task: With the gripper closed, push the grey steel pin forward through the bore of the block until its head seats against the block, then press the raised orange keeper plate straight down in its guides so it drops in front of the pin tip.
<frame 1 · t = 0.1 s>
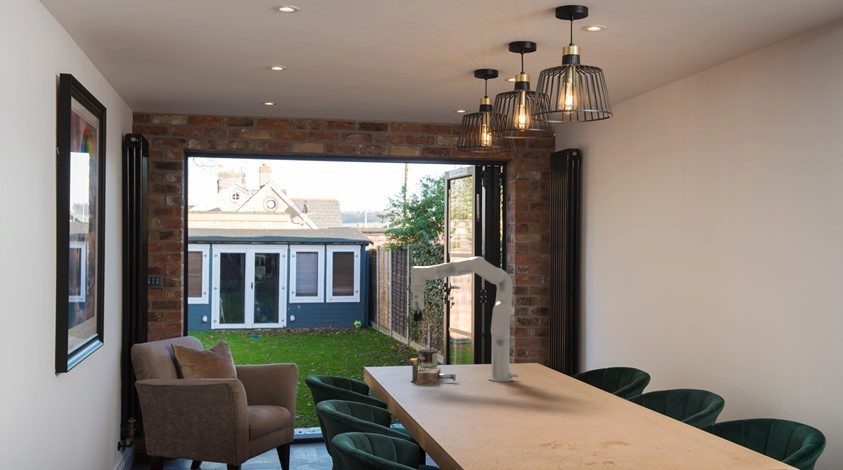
hand: (417, 320, 431), 31 cm above the table, tool pointing down, fingers open, 9 cm apart
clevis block: (428, 381, 417), on the table
keeper plate: (413, 364, 419), point 9 cm above the table, slide at 5.0 cm
pin: (444, 376, 416), point 3 cm above the table, slide at 0.0 cm
coffee can: (428, 376, 437), on the table
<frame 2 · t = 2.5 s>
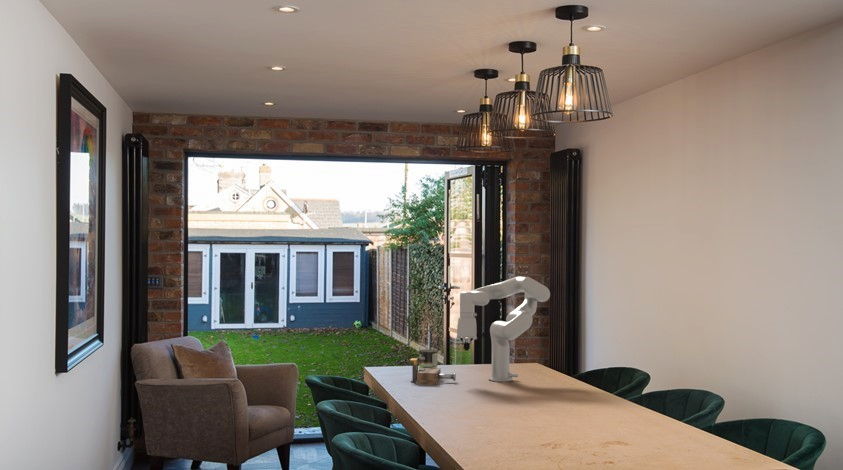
hand: (466, 350, 415), 17 cm above the table, tool pointing down, fingers closed
nothing on the table moved.
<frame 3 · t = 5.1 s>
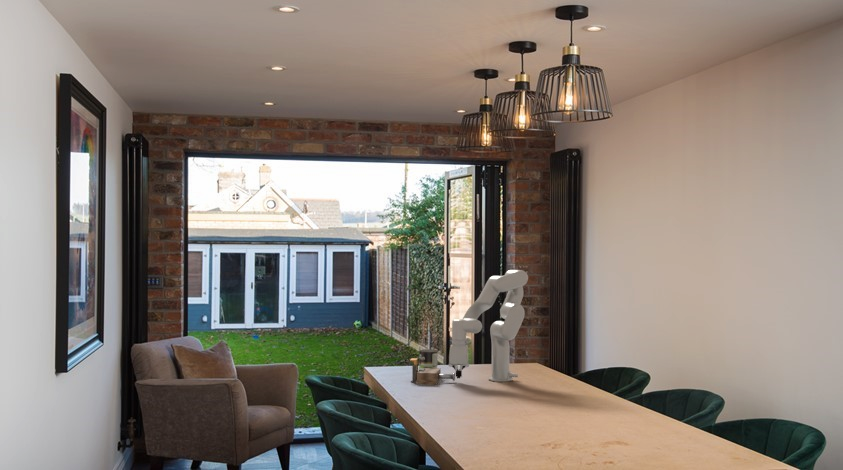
hand: (458, 377, 415), 2 cm above the table, tool pointing down, fingers closed
pin: (443, 376, 416), point 3 cm above the table, slide at 0.3 cm, touching gripper
everything else where it was.
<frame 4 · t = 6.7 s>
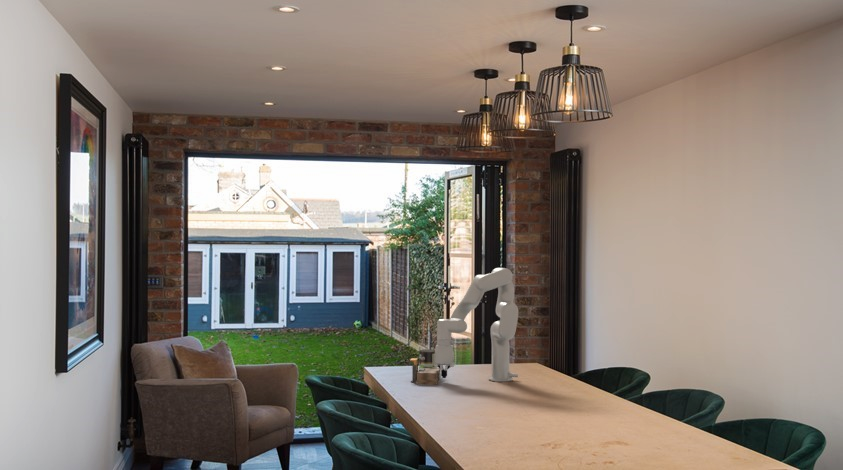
hand: (444, 377, 416), 2 cm above the table, tool pointing down, fingers closed
pin: (428, 376, 418), point 3 cm above the table, slide at 8.0 cm, touching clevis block, gripper
everything else where it was.
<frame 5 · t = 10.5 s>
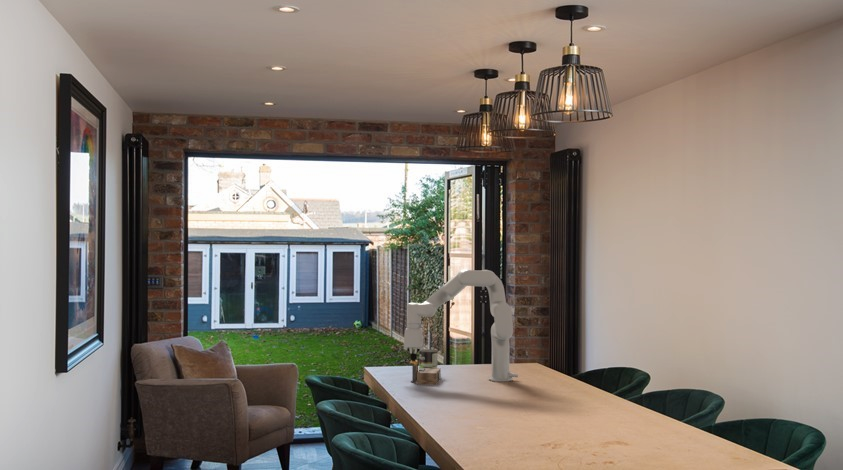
hand: (413, 360, 419), 11 cm above the table, tool pointing down, fingers closed
keeper plate: (413, 366, 419), point 8 cm above the table, slide at 3.9 cm, touching gripper
pin: (428, 376, 418), point 3 cm above the table, slide at 8.0 cm, touching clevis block
everything else where it was.
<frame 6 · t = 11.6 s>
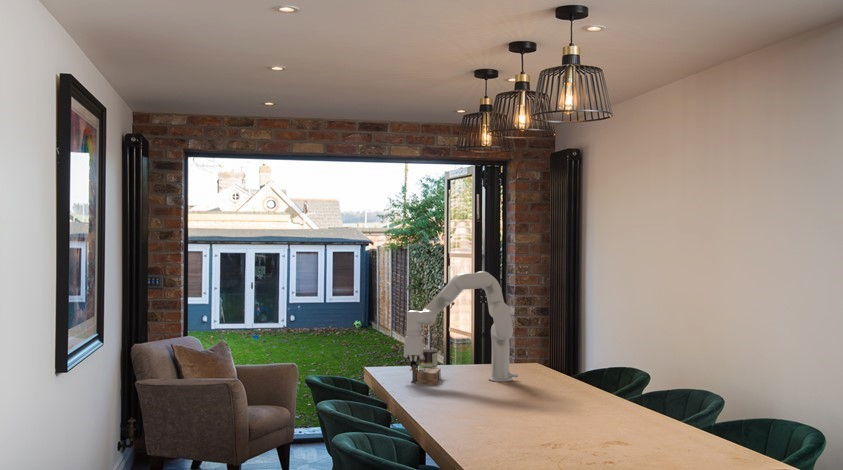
hand: (413, 368, 419), 7 cm above the table, tool pointing down, fingers closed
keeper plate: (413, 374, 419), point 4 cm above the table, slide at 0.0 cm, touching gripper
everything else where it was.
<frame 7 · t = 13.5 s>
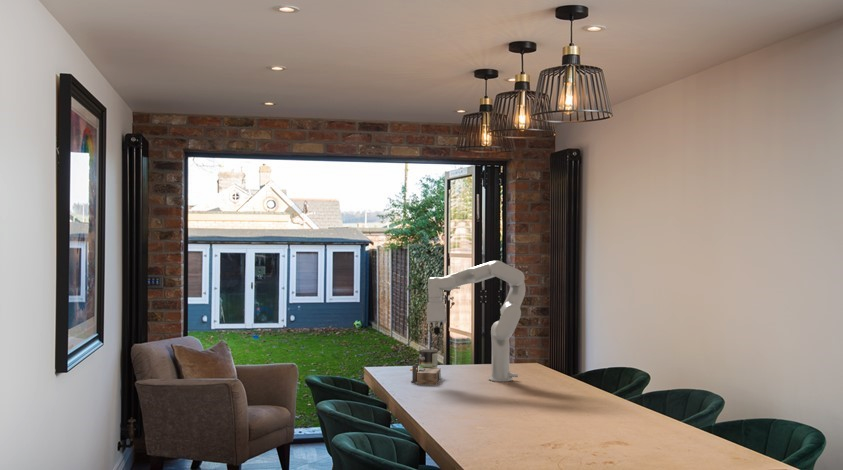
hand: (437, 334, 422), 24 cm above the table, tool pointing down, fingers closed
keeper plate: (413, 374, 419), point 4 cm above the table, slide at 0.0 cm
everything else where it was.
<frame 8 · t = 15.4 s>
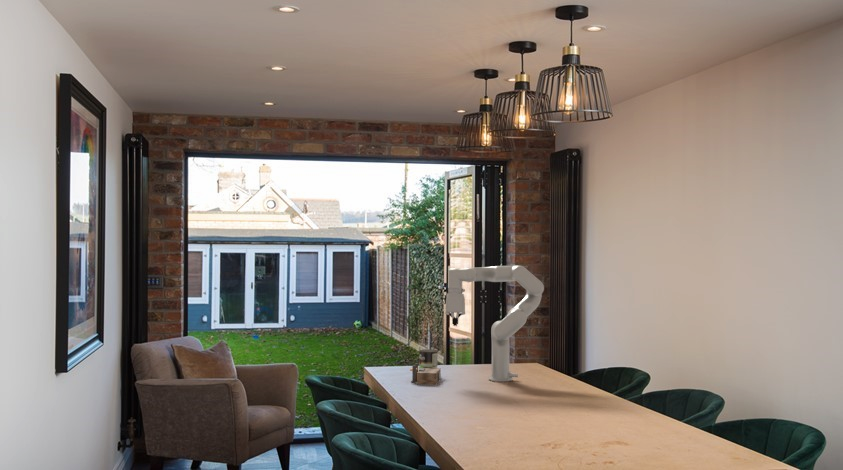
hand: (455, 325, 424), 29 cm above the table, tool pointing down, fingers closed
nothing on the table moved.
at the end: pin slide at 8.0 cm; keeper plate slide at 0.0 cm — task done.
